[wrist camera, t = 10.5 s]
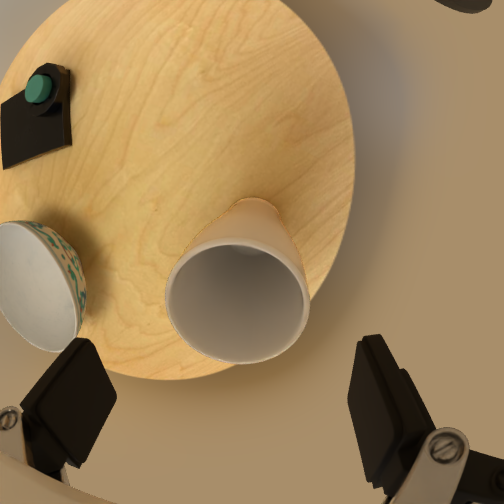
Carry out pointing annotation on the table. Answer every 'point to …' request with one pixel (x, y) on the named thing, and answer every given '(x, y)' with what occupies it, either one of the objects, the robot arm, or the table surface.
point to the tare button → (38, 88)
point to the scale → (36, 120)
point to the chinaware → (41, 285)
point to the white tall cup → (240, 287)
